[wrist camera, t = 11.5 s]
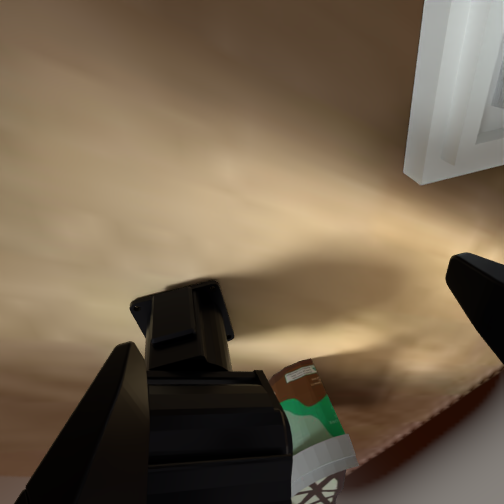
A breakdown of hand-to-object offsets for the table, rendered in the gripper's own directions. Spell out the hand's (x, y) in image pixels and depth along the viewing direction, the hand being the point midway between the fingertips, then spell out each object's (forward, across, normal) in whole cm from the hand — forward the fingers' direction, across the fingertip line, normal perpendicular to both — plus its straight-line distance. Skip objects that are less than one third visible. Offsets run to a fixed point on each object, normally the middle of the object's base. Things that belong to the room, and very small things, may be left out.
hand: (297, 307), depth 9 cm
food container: (+13, 0, +26) cm, 29 cm away
